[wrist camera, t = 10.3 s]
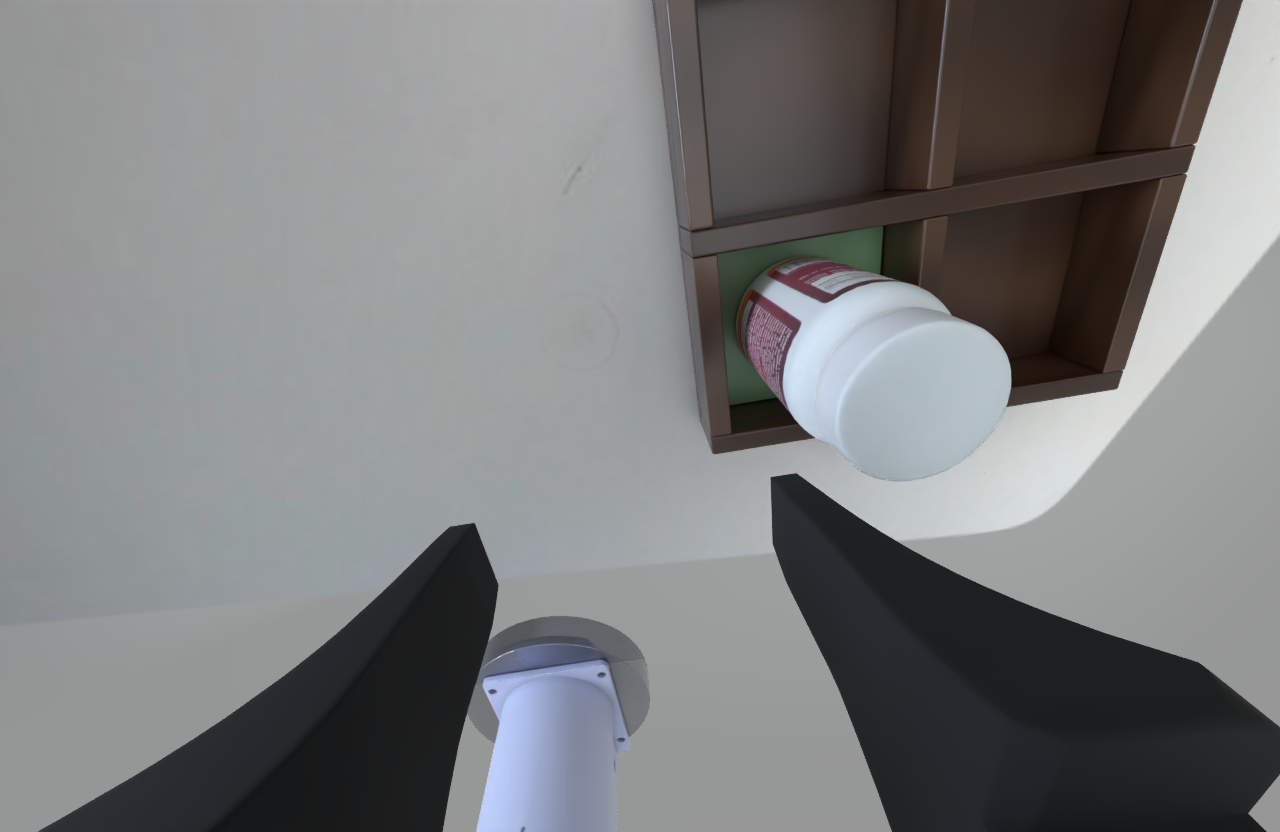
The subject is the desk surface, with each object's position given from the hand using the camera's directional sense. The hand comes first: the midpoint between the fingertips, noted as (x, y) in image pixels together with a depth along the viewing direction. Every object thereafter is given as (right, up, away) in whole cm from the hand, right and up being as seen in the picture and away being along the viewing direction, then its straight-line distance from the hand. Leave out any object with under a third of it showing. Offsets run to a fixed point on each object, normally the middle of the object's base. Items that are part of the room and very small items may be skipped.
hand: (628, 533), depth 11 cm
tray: (+9, +11, +6) cm, 15 cm away
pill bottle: (+6, +7, +7) cm, 11 cm away
